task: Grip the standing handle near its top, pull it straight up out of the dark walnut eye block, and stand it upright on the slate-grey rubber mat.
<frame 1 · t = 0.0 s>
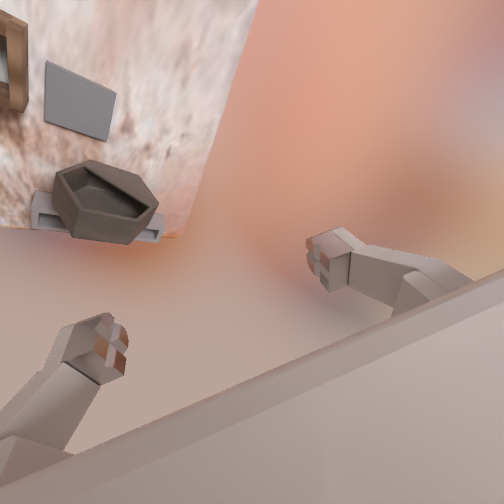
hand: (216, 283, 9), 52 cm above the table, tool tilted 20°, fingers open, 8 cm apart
mat: (80, 105, 44), on the table
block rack: (105, 212, 63), on the table
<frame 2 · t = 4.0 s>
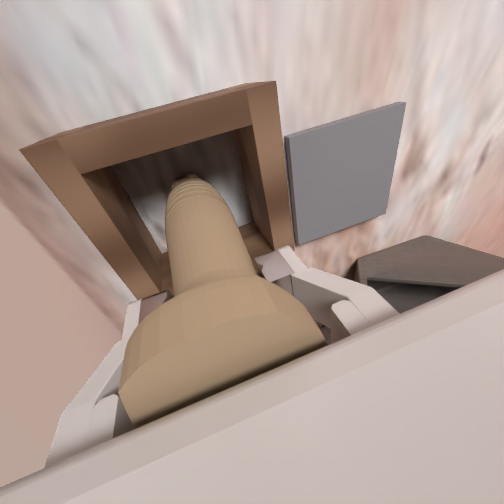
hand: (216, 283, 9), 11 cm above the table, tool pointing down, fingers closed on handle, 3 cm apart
handle: (191, 192, 18), resting in eye block, touching gripper
eye block: (191, 193, 18), on the table
mat: (340, 179, 21), on the table
when the fingers open (12 cm above the table, at t = 13.0 s): handle stays where it is, resting on mat.
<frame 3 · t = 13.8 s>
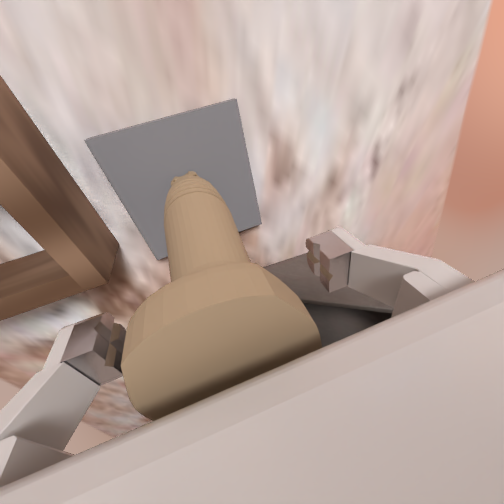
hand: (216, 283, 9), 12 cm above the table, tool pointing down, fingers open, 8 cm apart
handle: (190, 190, 18), point 1 cm above the table, touching mat
mat: (190, 187, 19), on the table
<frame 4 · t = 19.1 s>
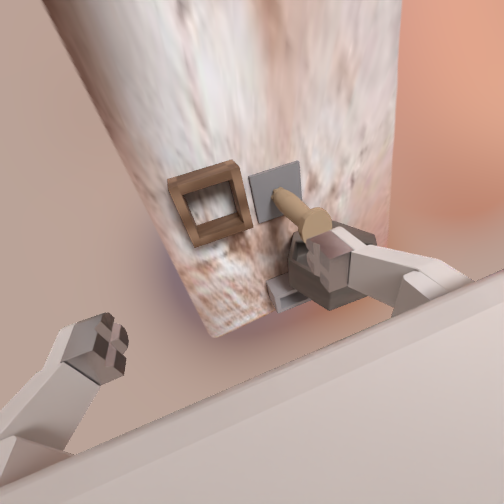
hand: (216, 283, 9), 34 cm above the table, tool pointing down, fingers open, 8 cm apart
handle: (277, 193, 46), point 1 cm above the table, touching mat
eye block: (210, 199, 43), on the table
mat: (276, 192, 46), on the table
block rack: (315, 270, 63), on the table
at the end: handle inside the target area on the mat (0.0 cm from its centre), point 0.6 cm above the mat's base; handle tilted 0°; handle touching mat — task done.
